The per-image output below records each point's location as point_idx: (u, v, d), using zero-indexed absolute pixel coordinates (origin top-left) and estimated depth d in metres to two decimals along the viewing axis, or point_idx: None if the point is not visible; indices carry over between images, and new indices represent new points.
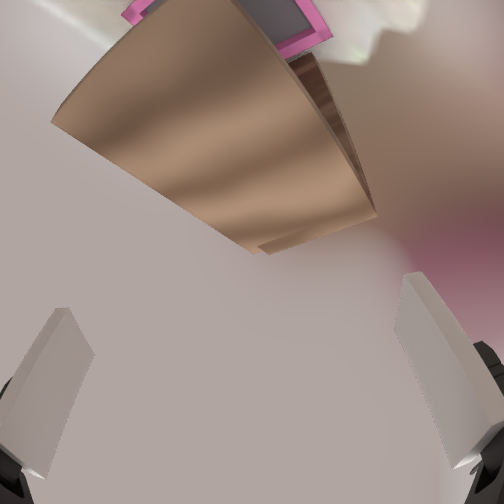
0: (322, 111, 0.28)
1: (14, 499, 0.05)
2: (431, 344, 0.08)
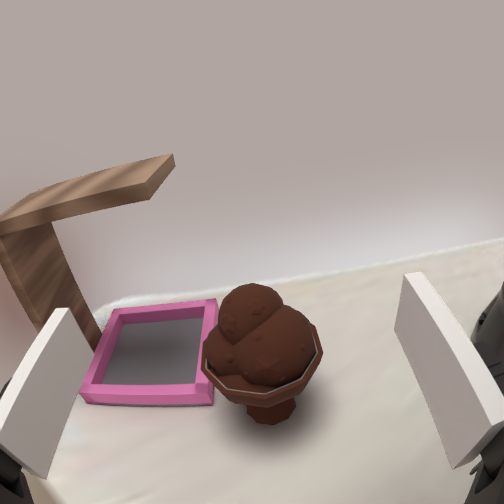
0: (43, 307, 0.32)
1: (14, 499, 0.05)
2: (431, 344, 0.08)
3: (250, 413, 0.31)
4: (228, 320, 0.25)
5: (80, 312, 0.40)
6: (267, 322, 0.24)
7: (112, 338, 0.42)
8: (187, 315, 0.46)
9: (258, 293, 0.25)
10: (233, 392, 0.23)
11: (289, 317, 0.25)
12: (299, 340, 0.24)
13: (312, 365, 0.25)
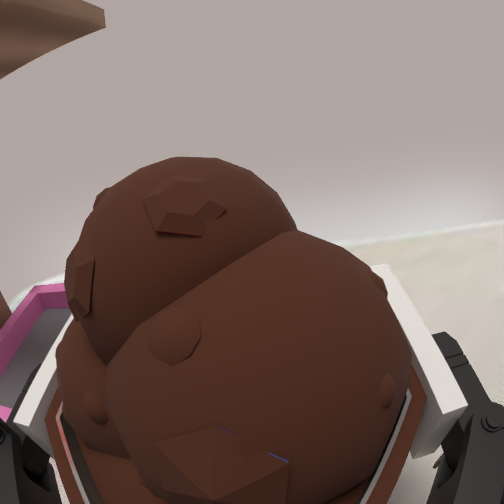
0: None
1: (41, 493, 0.05)
2: None
3: None
4: (78, 264, 0.06)
5: None
6: (229, 275, 0.05)
7: (18, 328, 0.23)
8: None
9: (204, 166, 0.06)
10: None
11: (328, 261, 0.06)
12: (376, 365, 0.05)
13: (401, 448, 0.05)
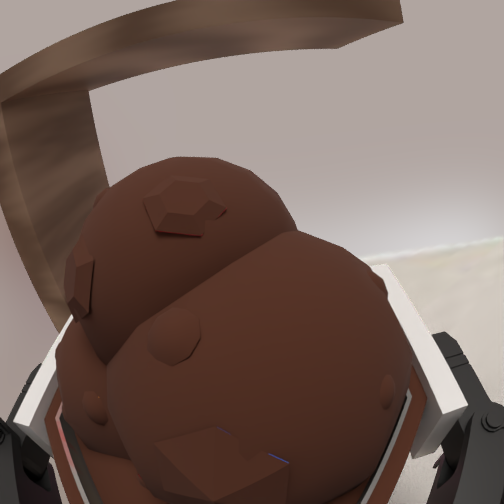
0: None
1: (40, 493, 0.05)
2: None
3: None
4: (78, 264, 0.06)
5: None
6: (228, 276, 0.05)
7: None
8: None
9: (204, 165, 0.06)
10: None
11: (328, 261, 0.06)
12: (376, 365, 0.05)
13: (401, 449, 0.05)
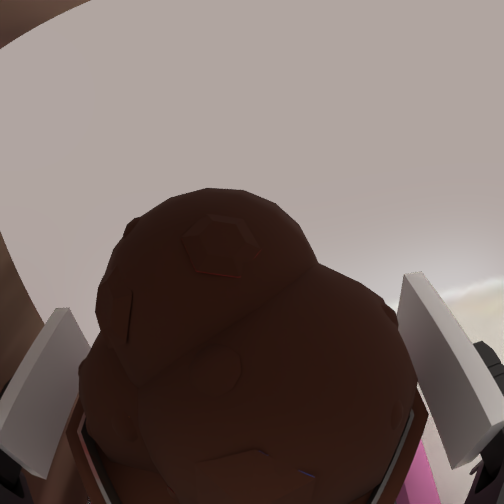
0: None
1: (14, 499, 0.05)
2: (431, 344, 0.08)
3: None
4: (114, 295, 0.06)
5: None
6: (264, 314, 0.06)
7: None
8: None
9: (237, 203, 0.07)
10: None
11: (350, 300, 0.06)
12: (389, 394, 0.05)
13: (404, 462, 0.06)
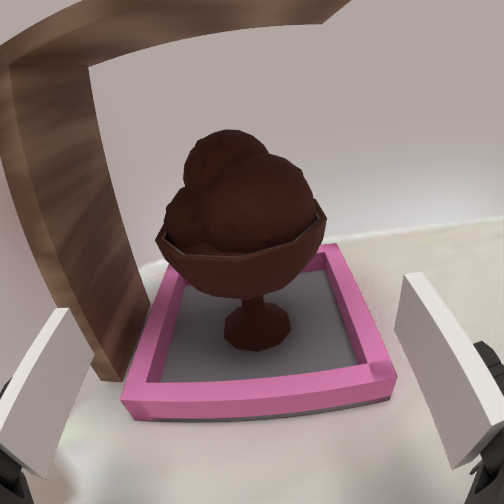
0: (61, 227, 0.17)
1: (14, 499, 0.05)
2: (431, 344, 0.08)
3: (227, 336, 0.24)
4: (195, 159, 0.18)
5: (121, 257, 0.25)
6: (247, 158, 0.17)
7: (172, 304, 0.27)
8: None
9: (238, 131, 0.19)
10: (191, 256, 0.17)
11: (277, 158, 0.18)
12: (290, 182, 0.17)
13: (311, 227, 0.18)
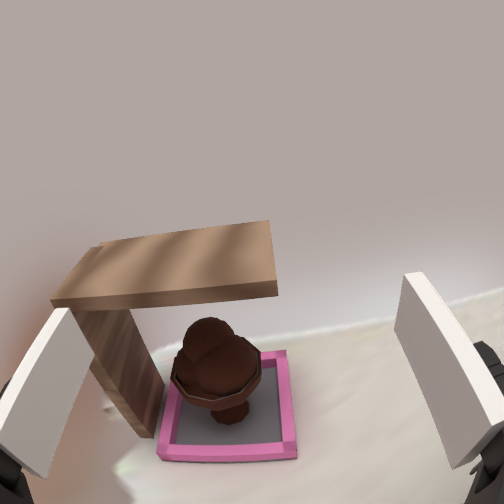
0: (118, 375, 0.31)
1: (14, 499, 0.05)
2: (431, 344, 0.08)
3: (212, 414, 0.38)
4: (188, 345, 0.33)
5: (147, 368, 0.40)
6: (216, 349, 0.32)
7: None
8: None
9: (212, 326, 0.33)
10: (190, 397, 0.31)
11: (233, 346, 0.33)
12: (239, 364, 0.32)
13: (251, 383, 0.32)
